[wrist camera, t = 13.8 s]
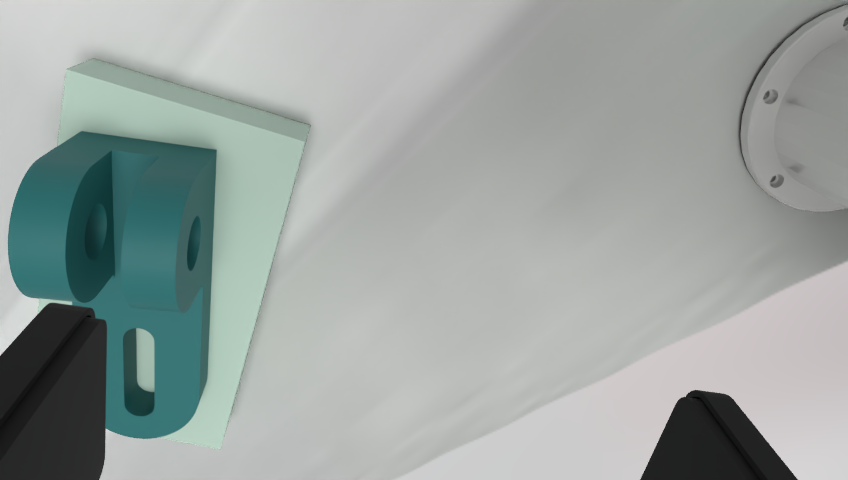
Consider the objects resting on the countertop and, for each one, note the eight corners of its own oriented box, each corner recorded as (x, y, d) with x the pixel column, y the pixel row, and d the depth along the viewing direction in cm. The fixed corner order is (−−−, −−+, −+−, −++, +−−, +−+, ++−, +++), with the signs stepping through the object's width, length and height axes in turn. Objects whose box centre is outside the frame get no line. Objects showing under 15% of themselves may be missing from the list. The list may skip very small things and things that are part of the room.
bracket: (81, 131, 32) (0, 182, 25) (216, 149, 33) (176, 204, 26) (94, 409, 40) (35, 510, 33) (205, 417, 41) (171, 517, 34)
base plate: (311, 122, 37) (304, 141, 34) (232, 409, 45) (220, 449, 42) (97, 56, 35) (66, 69, 31) (55, 372, 43) (26, 411, 39)
